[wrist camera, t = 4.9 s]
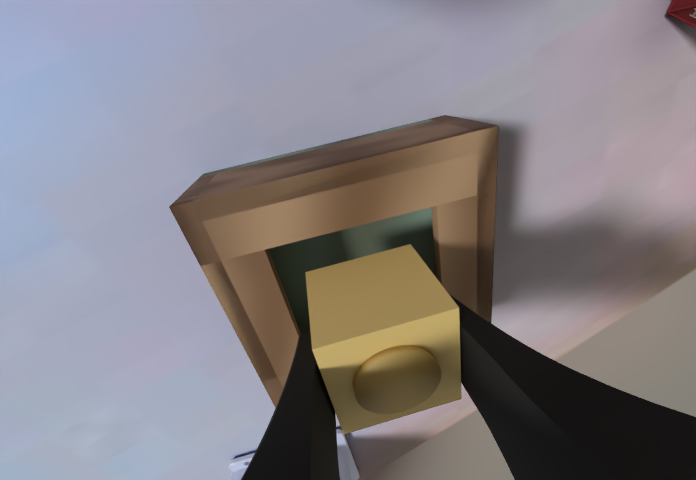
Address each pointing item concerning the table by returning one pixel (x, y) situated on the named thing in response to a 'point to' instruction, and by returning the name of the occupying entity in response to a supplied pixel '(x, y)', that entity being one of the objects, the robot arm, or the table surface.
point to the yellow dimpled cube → (384, 337)
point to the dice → (684, 11)
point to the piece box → (342, 224)
